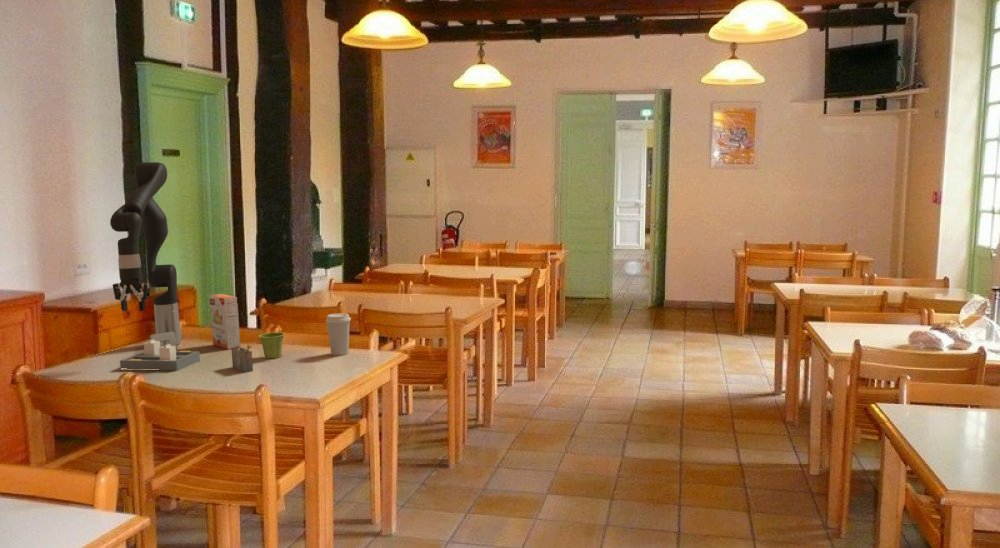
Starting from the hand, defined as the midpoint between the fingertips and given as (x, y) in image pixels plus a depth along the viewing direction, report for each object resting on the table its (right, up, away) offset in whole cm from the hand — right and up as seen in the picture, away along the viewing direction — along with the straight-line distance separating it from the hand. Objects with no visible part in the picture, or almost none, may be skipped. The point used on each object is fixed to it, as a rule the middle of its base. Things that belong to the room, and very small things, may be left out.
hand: (133, 310), depth 307 cm
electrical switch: (+6, -18, +13) cm, 23 cm away
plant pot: (+50, -18, +6) cm, 54 cm away
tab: (+16, -19, -8) cm, 26 cm away
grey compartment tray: (+12, -20, -3) cm, 23 cm away
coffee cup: (+75, -17, +9) cm, 78 cm away
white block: (+7, -18, +1) cm, 19 cm away
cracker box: (+26, -16, +28) cm, 41 cm away
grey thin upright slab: (+45, -21, -12) cm, 51 cm away
